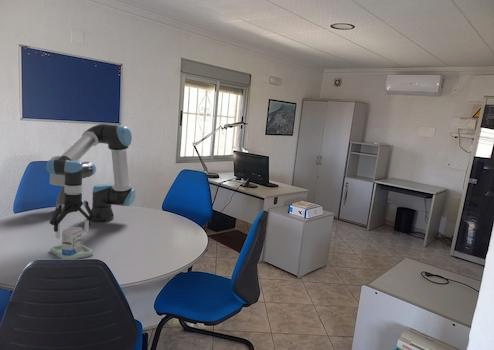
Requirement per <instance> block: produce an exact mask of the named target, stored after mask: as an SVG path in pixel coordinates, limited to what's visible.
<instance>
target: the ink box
mask: <svg viewBox="0 0 494 350" xmlns="http://www.w3.org/2000/svg"><path fill="white" fill-rule="evenodd" d="M82 244H83V227H79V226H70V227H68V228H66V229H63V230H62V234H61V245H62V254H65V255H72V254H74V253H76V252H79V251H81V250H82Z"/></svg>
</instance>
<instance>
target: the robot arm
mask: <svg viewBox="0 0 494 350" xmlns="http://www.w3.org/2000/svg"><path fill="white" fill-rule="evenodd" d="M132 137H133V135H132V132H131V130H130V128H129V127H128V126H124V125H118V124H108V123H100V124H96V125H93V126H91V127H90V128H88V129H87V130H85V131H83V133H82V134H81V137H80V138H79V139H78V140H77V141H76V142H74V143H73V144H72V146H70V147H69V148H68V149H67V150H66V151H65V152H63V153H62V154H61V155H59V156H60V157H59V158H58V159H49V160H48V161H47V163H46V166H45V169H46V171H47V172H48V173H49V174H50V173H51V174H56V175H65V184H64V192H65V194H64V204H57V209H56V210H54V213H53V214H52V217H51V218H50V220H49V224H50V226H53V231H54V232H55V238H56V239H57V240H60V239H61V226H60V225H61V222H62V221H63V219H64V218H65V217H66V216H67V215H69V213H73V212H75V213H76V212H79V213H80V214H81V215H83V216H84V217H85V219H84V233H86V234H88V233H89V232H90V230H89V229H90V228H89V227H90V226H91V222H99V223H101V222H102V223H105V222H110V221H113V220H114V218H115V216H114V215H115V214H114V212H113V208H112V206H121V207H131V206H132V205H133V203H134V201H135V198H136V190H135V189H134V188H133V187H132V184H131V183H130V181H129V169H128V168H129V167H128V155H127V154H128V153H127V150H128V149H129V146H131V145H132ZM98 144H105V145H106V144H107V146H108V147H107V148H108V149H109V150H110V151H111V160H112V162H111V163H112V171H113V180H114V181H113V182H114V185H113V184H112V183H99V184H96V185H93V188H92V203H91V205H92V206H91V207H92V208H90V204H89V201H88V200H83V194H82V192H83V179H86V178H89V177H91V176H93V175H95V173H96V172H97V166H96V165H95V163H94V162H92V161H84V162H83V161H80V159H81V158H82V157H84V156H85V154H86V153H87V152H88V151H89V150H90V149H91V148H92V147H96V146H97V145H98ZM78 160H79V161H78ZM83 206H84V208H85V210H86V211H87V212H86V211H84V209H83V208H81V207H83ZM63 207H64V208H65V209H64V210H63V212H62V213H60V212H61V209H62V208H63Z"/></svg>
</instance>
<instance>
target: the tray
mask: <svg viewBox="0 0 494 350" xmlns="http://www.w3.org/2000/svg"><path fill="white" fill-rule="evenodd" d="M50 252H51V253H52V254H54V255H55V256H57V257H58V258H59V259H60V260H61V259H75V260H79V259H85V258H87V257H91V256H93V255H94V251H93V250H92V249H90V248H89V247H87V246H86V245H85V244H83V243H82V250H81V251H79V252H76V253H74V254H72V255H65V254H62V244H59V245H53V246H50Z"/></svg>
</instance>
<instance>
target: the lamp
mask: <svg viewBox="0 0 494 350" xmlns="http://www.w3.org/2000/svg"><path fill="white" fill-rule="evenodd" d="M60 156H61V155H59V156H58V155H57V156H52V157H51V159H58V158H59V157H60ZM51 159H50V160H51ZM78 161H80V159H79V160H78ZM48 184H49V185H52V186H57V187H58V186H60V187H59V189H60V191H59V192H58V195H57V198H56V204H55V208H54V209H55V210H56V209H57V204H64V194H65V192H64V184H65V175H56V174H51V173H49V183H48ZM64 209H65V208H64V207H63V208H62V209H61V212H60V214H61V213H62V212H63V210H64ZM55 210H54V211H55Z"/></svg>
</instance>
